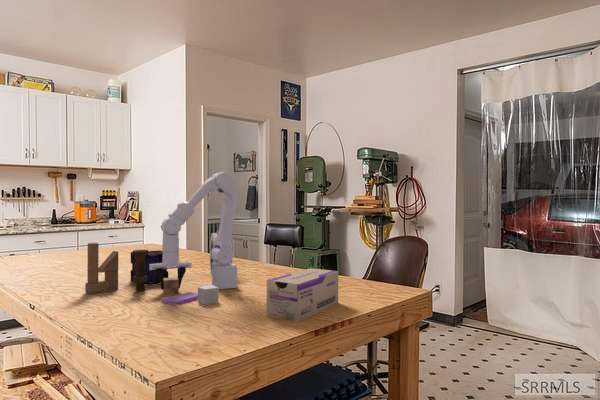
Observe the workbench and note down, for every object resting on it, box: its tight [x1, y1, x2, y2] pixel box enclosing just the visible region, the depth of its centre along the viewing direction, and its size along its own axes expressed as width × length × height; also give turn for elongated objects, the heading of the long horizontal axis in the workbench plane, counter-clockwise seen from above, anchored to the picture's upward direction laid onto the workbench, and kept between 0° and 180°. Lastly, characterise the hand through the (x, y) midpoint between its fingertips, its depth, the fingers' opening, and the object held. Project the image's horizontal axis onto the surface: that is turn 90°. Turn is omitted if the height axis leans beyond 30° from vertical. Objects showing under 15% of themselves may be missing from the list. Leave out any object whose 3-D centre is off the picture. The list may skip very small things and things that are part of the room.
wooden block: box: [84, 242, 119, 295], centre depth 153 cm, size 4×11×18 cm, turn 145°
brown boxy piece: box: [162, 276, 180, 296], centre depth 151 cm, size 5×5×5 cm
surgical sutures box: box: [266, 267, 339, 323], centre depth 129 cm, size 25×11×11 cm, turn 148°
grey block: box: [197, 284, 220, 306], centre depth 137 cm, size 5×5×5 cm
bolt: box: [131, 249, 150, 292], centre depth 153 cm, size 6×5×15 cm
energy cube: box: [130, 249, 169, 286], centre depth 171 cm, size 12×12×12 cm
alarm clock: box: [209, 230, 233, 276], centre depth 185 cm, size 21×8×20 cm, turn 17°
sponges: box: [161, 291, 198, 306], centre depth 140 cm, size 7×13×2 cm, turn 148°
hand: (170, 288), depth 151 cm, fingers closed on brown boxy piece, 5 cm apart
